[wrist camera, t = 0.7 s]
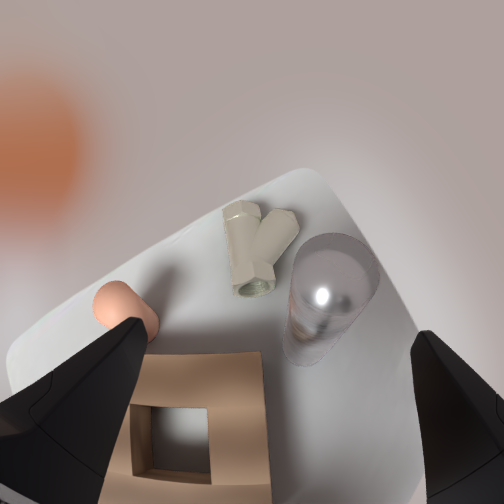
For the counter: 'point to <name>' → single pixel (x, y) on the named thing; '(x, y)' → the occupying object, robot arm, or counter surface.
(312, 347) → the tall metal pin
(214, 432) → the walnut block
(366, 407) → the counter surface
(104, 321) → the short terracotta pin
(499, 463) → the robot arm
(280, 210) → the pipe fitting
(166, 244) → the counter surface
